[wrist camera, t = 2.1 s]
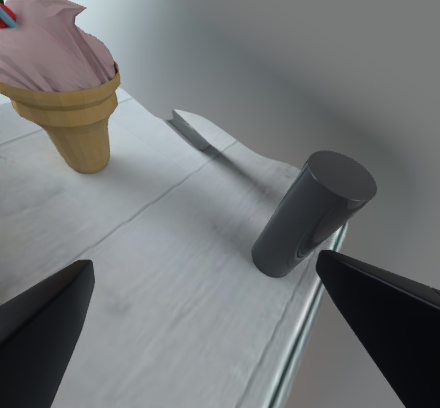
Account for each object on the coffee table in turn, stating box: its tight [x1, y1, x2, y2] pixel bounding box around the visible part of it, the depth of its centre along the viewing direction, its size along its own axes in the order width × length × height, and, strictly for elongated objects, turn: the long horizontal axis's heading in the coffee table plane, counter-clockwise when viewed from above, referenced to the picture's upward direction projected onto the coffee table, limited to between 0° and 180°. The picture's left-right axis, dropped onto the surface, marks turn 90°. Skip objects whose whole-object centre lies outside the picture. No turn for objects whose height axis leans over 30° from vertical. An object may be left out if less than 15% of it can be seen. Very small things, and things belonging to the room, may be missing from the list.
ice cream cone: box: [0, 0, 120, 174], centre depth 23 cm, size 11×11×20 cm
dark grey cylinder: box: [252, 151, 377, 278], centre depth 22 cm, size 5×5×14 cm
